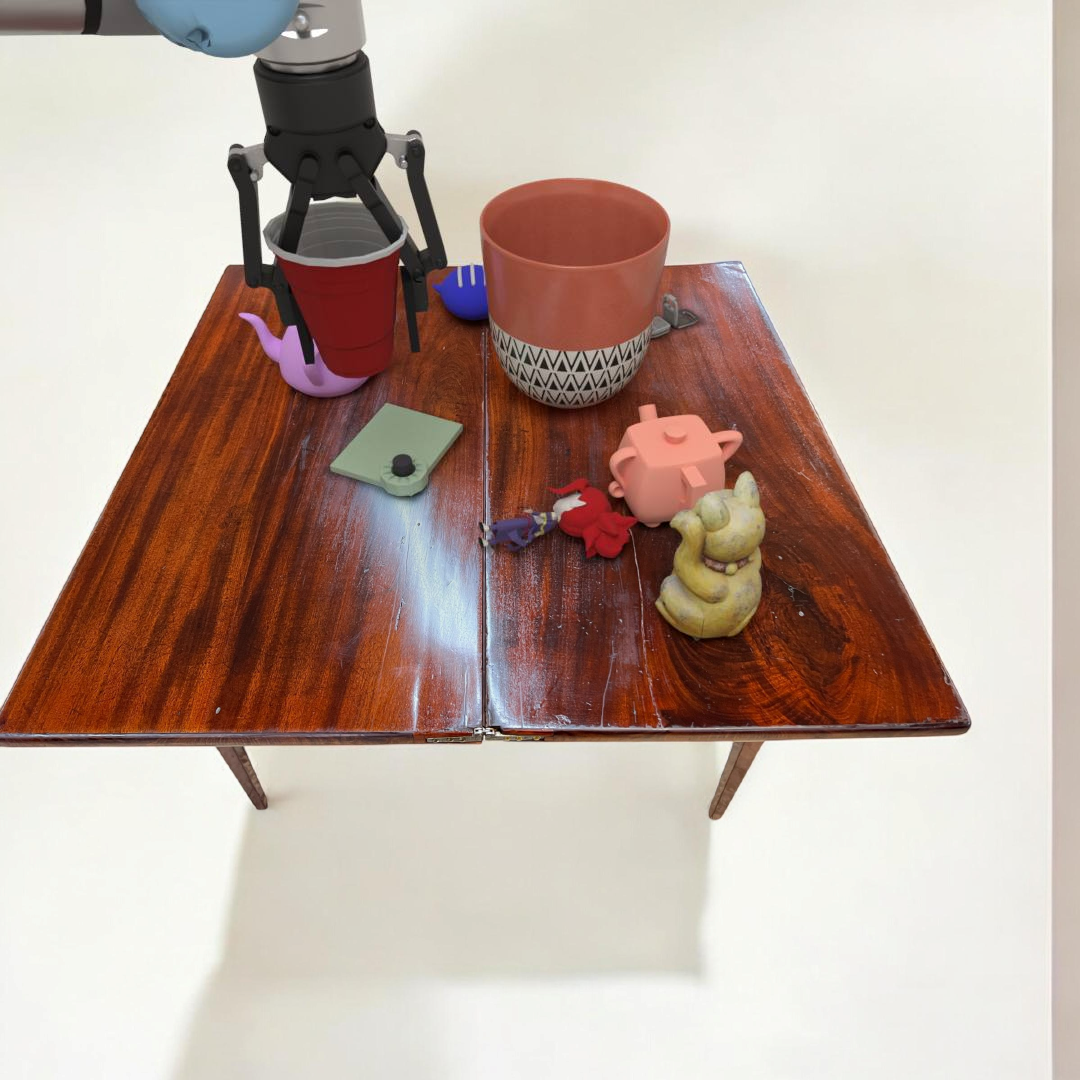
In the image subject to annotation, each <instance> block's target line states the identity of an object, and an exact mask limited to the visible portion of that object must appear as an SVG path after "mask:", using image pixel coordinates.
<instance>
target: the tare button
mask: <svg viewBox="0 0 1080 1080" xmlns="http://www.w3.org/2000/svg"><path fill="white" fill-rule="evenodd" d="M392 462H393V469H394V473H395V475H397V476H399V477H407V476H409V475H411V474H412V472H413V465H412V458H411V457H410V456H409V455H407V454H399V455H397V456H395V457H394V458H393V460H392Z"/></svg>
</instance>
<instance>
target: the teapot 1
mask: <svg viewBox="0 0 1080 1080" xmlns="http://www.w3.org/2000/svg"><path fill="white" fill-rule="evenodd" d="M238 316H239V317H240V318H242V319H243V320H245V321H247V322H248V323H249V324H250V325H252V327H253V328H254V330H255V331H256V334H257V336H258V339H259V342H260V344H261V347H262V349H263V351H264V353H265V354H266V355H267V356H268V357H269V358H270V359H271V360H272V361H274V362H276V363H278V365H279V370H280V374H281V376H282V378H283V379H284V381H285V383H287V384H288V385H289V386H290V387H292V388H293V389H295V390H297V391H299V392H301V393H303V394H304V395H307V396H312V397H318V398H334V397H340V396H344V395H346V394H350V393H352V392H355V390H358V389H359V388H360V387H361V386H362V385H363V384H365V382H367V380H368V379H369V378H370V377H371V376H369V377H364V378H344V377H340V376H337V375H334V374H333V373H332V372H331V371H329V370H328V369H327V367H326V365H325V364H324V363H323V360H322V358H321V356H320V353H319V351H318V348H317V346H316V344H315V341H314V339H313V342H314V353H315V364H309V365H305V360H304V356H303V352H302V348H301V344H300V340H299V335H298V331H297V327H296V326H287V328H286V330H285V333H284V334H283V337H282V339H280V338H278V337H276V336H274V334H272V333H271V332H270V330H269V328H268V326H267V325H266V323H265V321H264V320H263V319H262V318H261V317H260V316H258V315H255V314H253V313H249V312H239V313H238Z"/></svg>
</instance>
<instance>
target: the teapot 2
mask: <svg viewBox="0 0 1080 1080" xmlns="http://www.w3.org/2000/svg"><path fill="white" fill-rule="evenodd" d="M637 409H638V416H639V421H640V422H637V423H635V424H633V425H630V426H629V427H627V428H626V430H625V432H624V434H623V436H622V439H621V441H620V443H619V445H618V448H617V451H615V452H614V453H613V454H612V455H611V457H610V459H609V470H610V473H611V475H612V476H613V478H614V479H615V480H614V481H612V482H610V484H609V485H608V493H609V495H610V496H611V497H613V498H616V499H617V498H618V499H621V498H623V499H624V501H625V503H626V505H627V507H628V508H629V510H630V512H631V513H632V515H633V517H634V518H637V519H638V520H639V521H638V522H639V523H642V524H643V525H644V526H647V527H649V528H656V527H658V526H660V525H661V524H662V523H665V522H666V523H667V522H671V520H672V518H673V517H674V516H675V515H676V514H677V513H678V512H680V511H683V510H689V511H690V510H691V509H692V508H693V507H694V506H695V504H696V503H697V502H698V500H699V499H700V498H701V497H704V495H706V494H707V493H709V492H714V491H720V490H722V489H725V486H726V469H725V463H726V462H727V461H728V460H729V459H730V458H731V457H732V456H733V455H734V454H735V453H736V452H737V451H738V449H739V448H740V446H741V445H742V443H743V440H744V439H743V434H742V432H740V431H738V430H734V429H730V430H722V431H717V432H711V431H710V429H709V428H708V426H707V425H706V423H705V421H703V419H702V418H701V417H700V416H699V415H696V414H681V415H671V416H664V417H658V413H657V408H656V404H654V403H651V404H645V405H641V406H638V407H637ZM721 443H724V445H723V446H722V448H721V447H720V444H721Z"/></svg>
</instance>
